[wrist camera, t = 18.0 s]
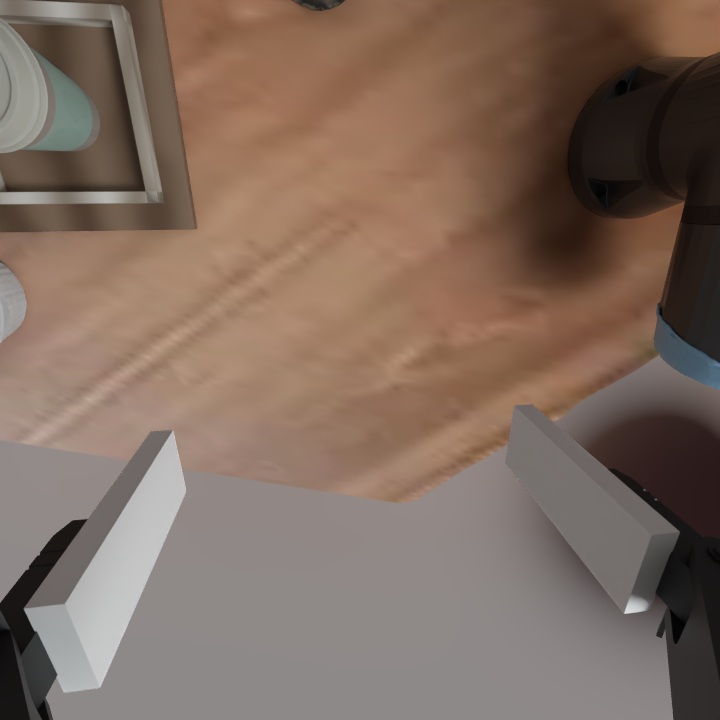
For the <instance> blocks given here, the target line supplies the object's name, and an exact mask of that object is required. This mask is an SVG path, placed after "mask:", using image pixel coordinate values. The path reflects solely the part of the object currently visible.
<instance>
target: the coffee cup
mask: <svg viewBox="0 0 720 720" xmlns="http://www.w3.org/2000/svg"><path fill="white" fill-rule="evenodd" d="M99 131H100V118H99V114H98V110H97V108H96V106H95V104H94V102H93V100H92V99H91V97H90V96H89V95H88V94H87V92H86V91H85V90H84V89H82V88H81V87H80V86H79V85H78V84H76V83H75V82H74V81H73V80H71V79H70V78H69V77H68V76H67V75H65V74H64V73H63V72H61V71H60V70H59V69H58V68H56V67H55V66H54V65H53V64H51V63H50V62H49V61H48V60H46V59H45V58H44V57H43V56H41V55H40V54H39V53H38V52H36V51H35V50H34V49H33V48H31V47H30V46H29V45H28V44H26V43H25V41H24V40H23V39H22V38H21V37H20V35H19V34H18V33H17V32H16V31H15V30H14V29H13V28H12V27H11V26H10V25H9V24H7V23H6V22H5V21H4V20H3V19H1V18H0V153H8V152H13V151H16V150H19V149H21V150H47V151H82V150H84V149H87V148H88V147H90V146H91V145H92V144H93V143H94V142H95V141H96V139H97V137H98V134H99Z"/></svg>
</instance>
